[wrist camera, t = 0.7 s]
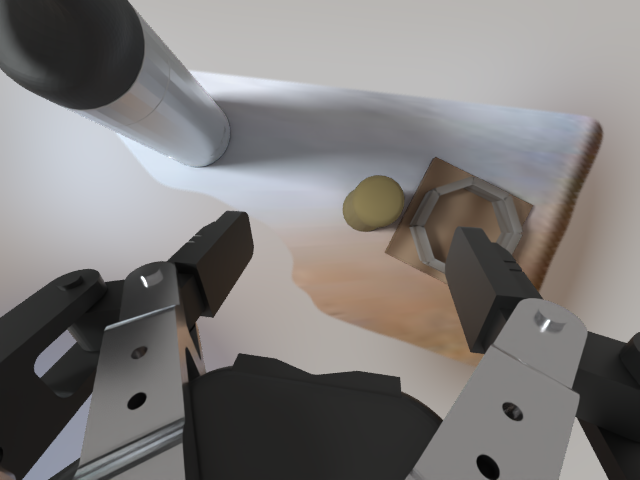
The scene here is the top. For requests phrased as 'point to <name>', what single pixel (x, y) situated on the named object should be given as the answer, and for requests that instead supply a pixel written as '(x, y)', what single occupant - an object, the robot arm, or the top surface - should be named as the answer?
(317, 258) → the top surface
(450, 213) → the socket base
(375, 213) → the cork
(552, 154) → the top surface
